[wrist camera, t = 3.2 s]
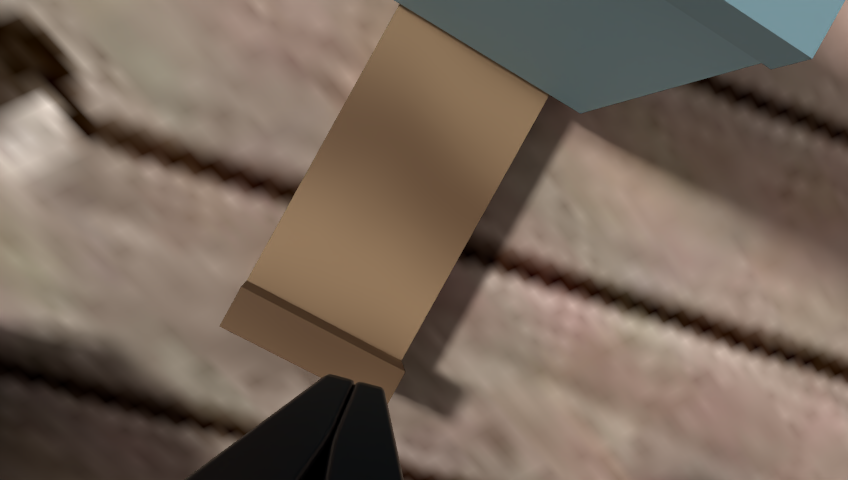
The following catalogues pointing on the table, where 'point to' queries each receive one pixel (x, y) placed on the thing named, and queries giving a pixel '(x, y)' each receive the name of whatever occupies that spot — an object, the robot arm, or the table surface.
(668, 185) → the table surface
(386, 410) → the robot arm
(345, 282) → the rail
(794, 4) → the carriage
